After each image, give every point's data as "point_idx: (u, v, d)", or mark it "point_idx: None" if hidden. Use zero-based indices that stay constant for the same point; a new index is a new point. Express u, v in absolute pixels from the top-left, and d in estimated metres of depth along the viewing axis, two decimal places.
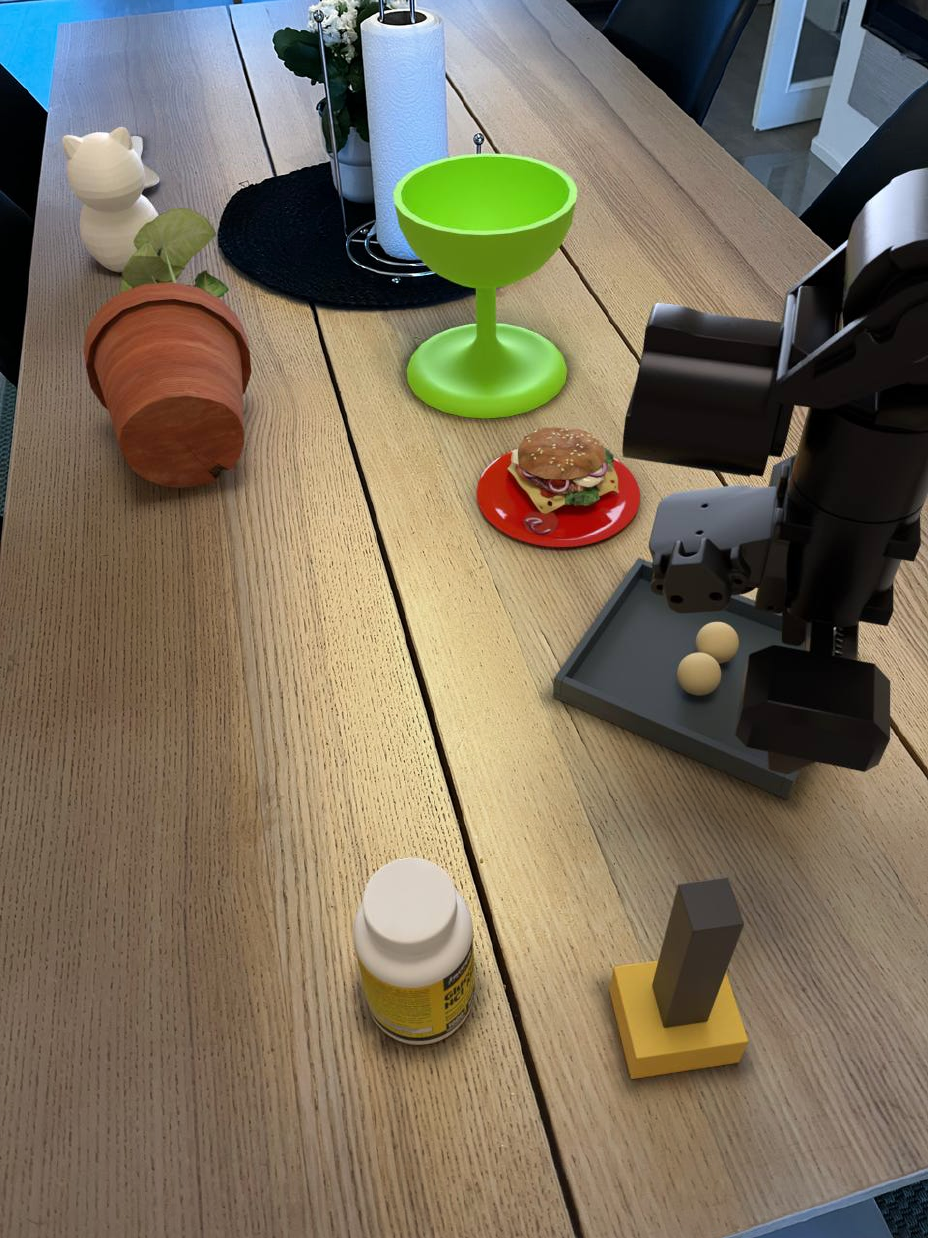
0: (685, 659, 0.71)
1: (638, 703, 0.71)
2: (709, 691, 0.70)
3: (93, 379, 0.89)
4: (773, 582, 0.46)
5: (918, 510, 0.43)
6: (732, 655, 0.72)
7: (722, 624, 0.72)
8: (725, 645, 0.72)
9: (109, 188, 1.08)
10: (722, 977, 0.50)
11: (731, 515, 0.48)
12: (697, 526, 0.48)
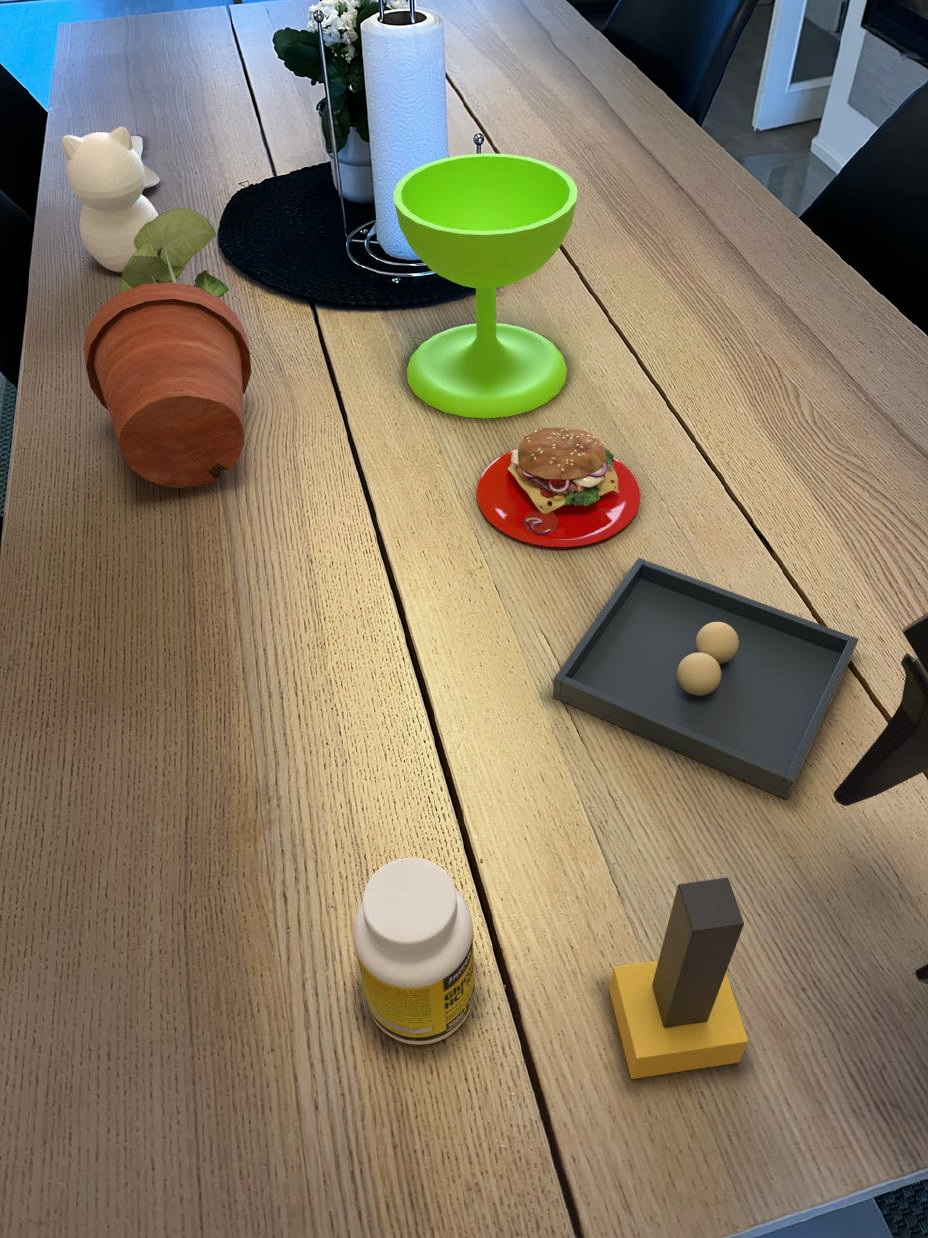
0: (685, 659, 0.71)
1: (638, 703, 0.71)
2: (709, 691, 0.70)
3: (93, 379, 0.89)
4: None
5: None
6: (732, 655, 0.72)
7: (722, 624, 0.72)
8: (725, 645, 0.72)
9: (109, 188, 1.08)
10: (722, 977, 0.50)
11: None
12: None
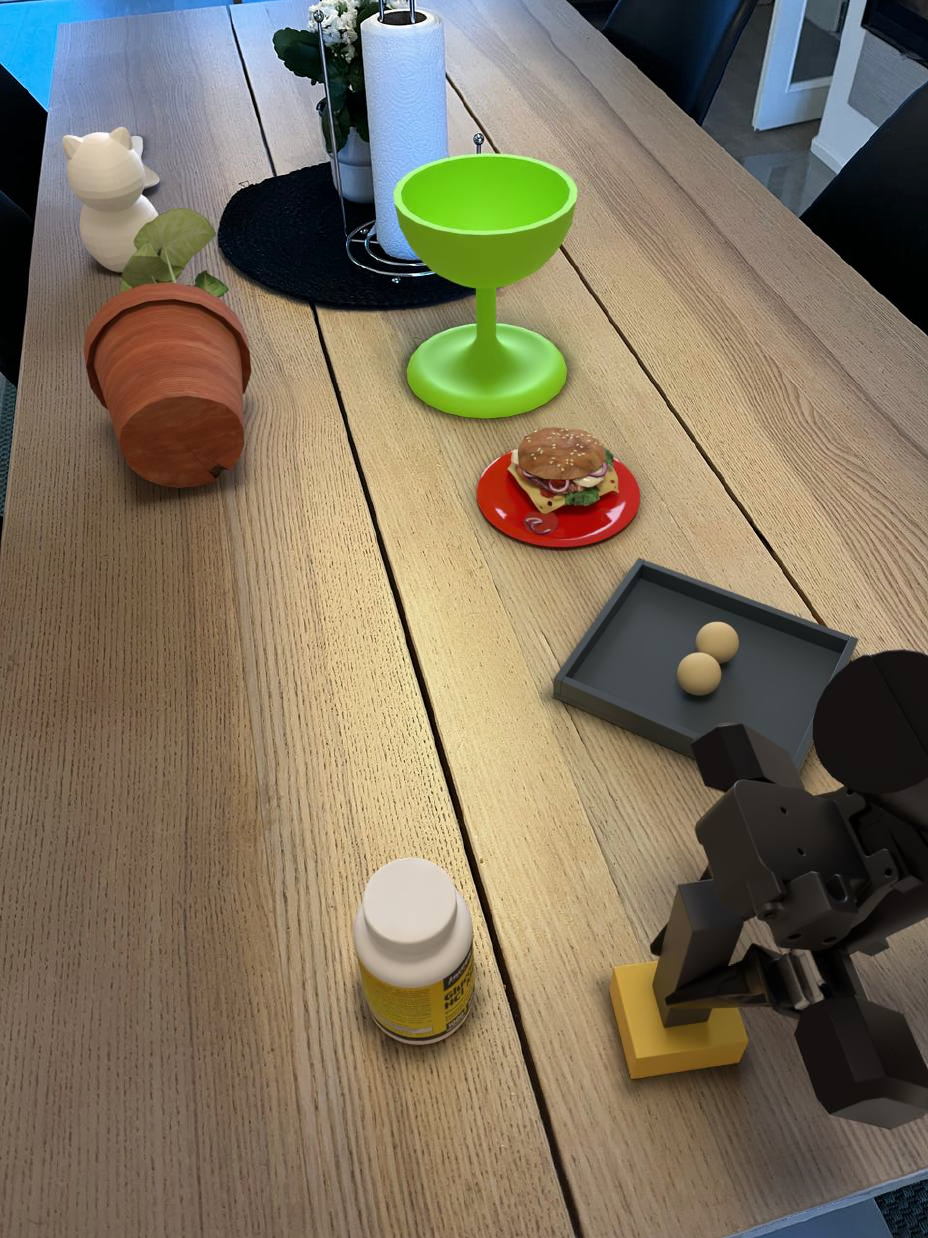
0: (685, 659, 0.71)
1: (638, 703, 0.71)
2: (709, 691, 0.70)
3: (93, 379, 0.89)
4: None
5: None
6: (732, 655, 0.72)
7: (722, 624, 0.72)
8: (725, 645, 0.72)
9: (109, 188, 1.08)
10: None
11: (817, 833, 0.43)
12: (793, 841, 0.42)
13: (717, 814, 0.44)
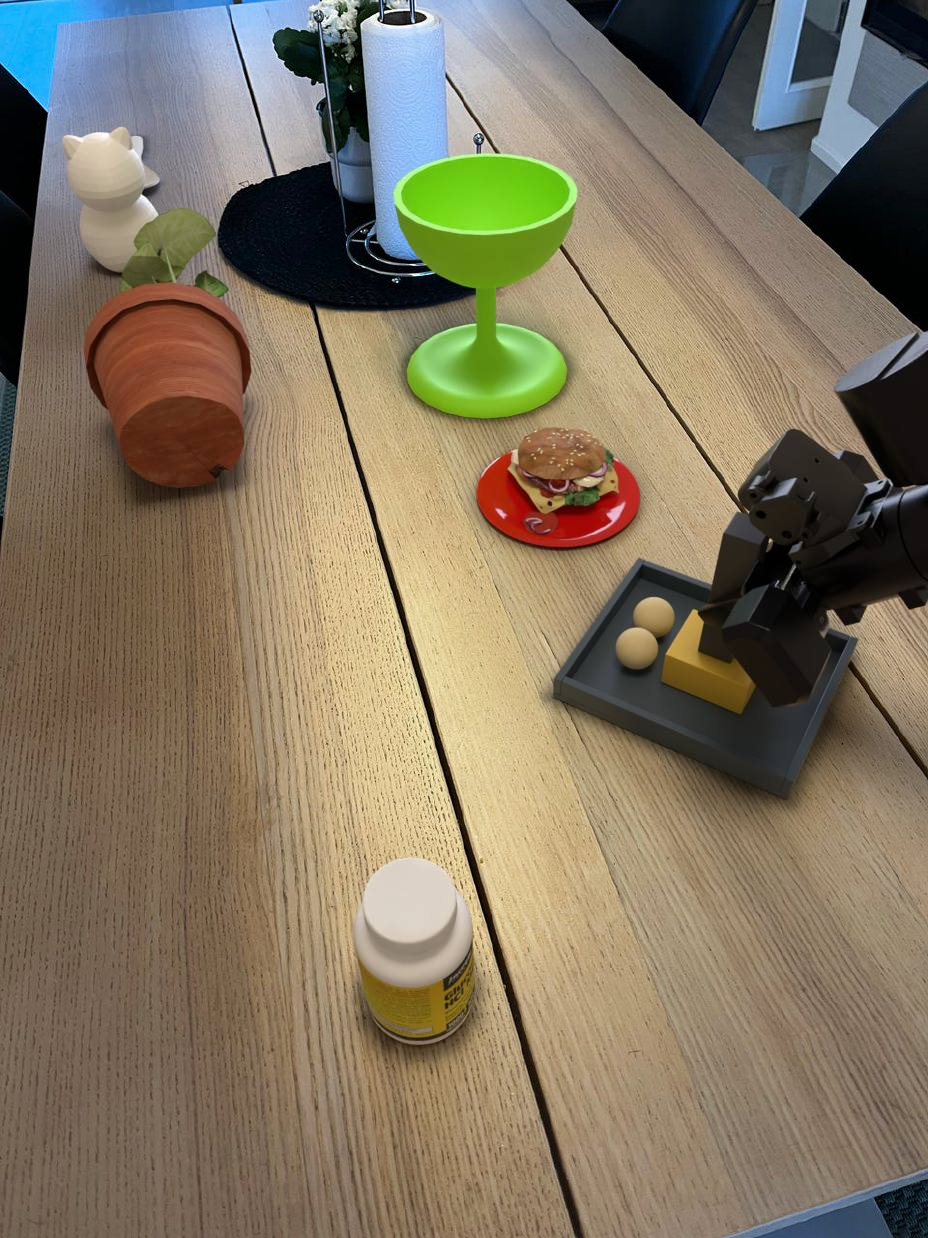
0: None
1: (638, 703, 0.71)
2: (616, 648, 0.73)
3: (93, 379, 0.89)
4: (821, 552, 0.58)
5: None
6: (633, 616, 0.75)
7: None
8: None
9: (109, 188, 1.08)
10: None
11: (831, 484, 0.58)
12: (806, 473, 0.58)
13: (772, 446, 0.60)
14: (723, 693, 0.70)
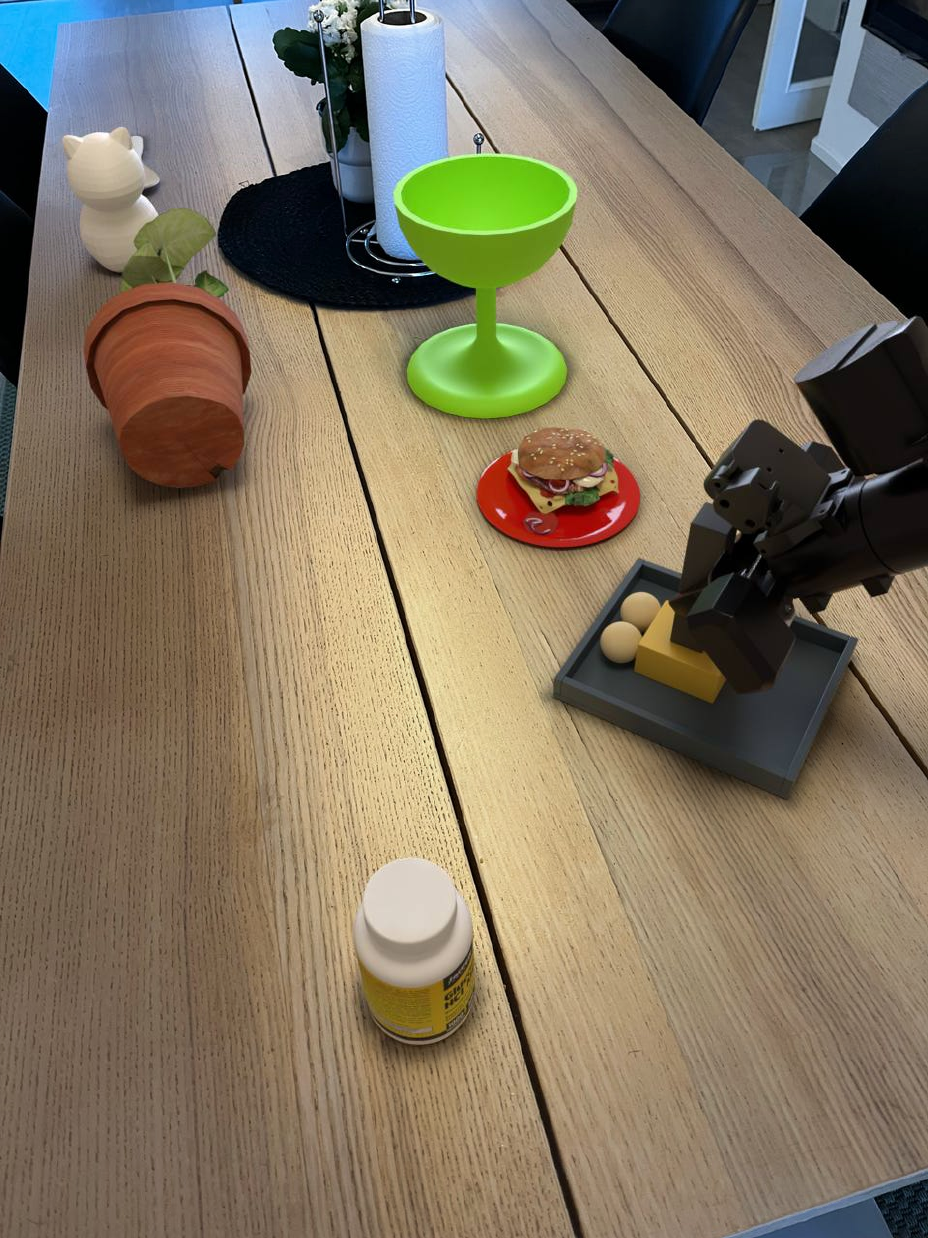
0: None
1: (638, 703, 0.71)
2: None
3: (93, 379, 0.89)
4: (785, 540, 0.58)
5: (904, 572, 0.57)
6: None
7: None
8: None
9: (109, 188, 1.08)
10: None
11: (794, 474, 0.59)
12: (770, 463, 0.58)
13: None
14: (695, 682, 0.71)
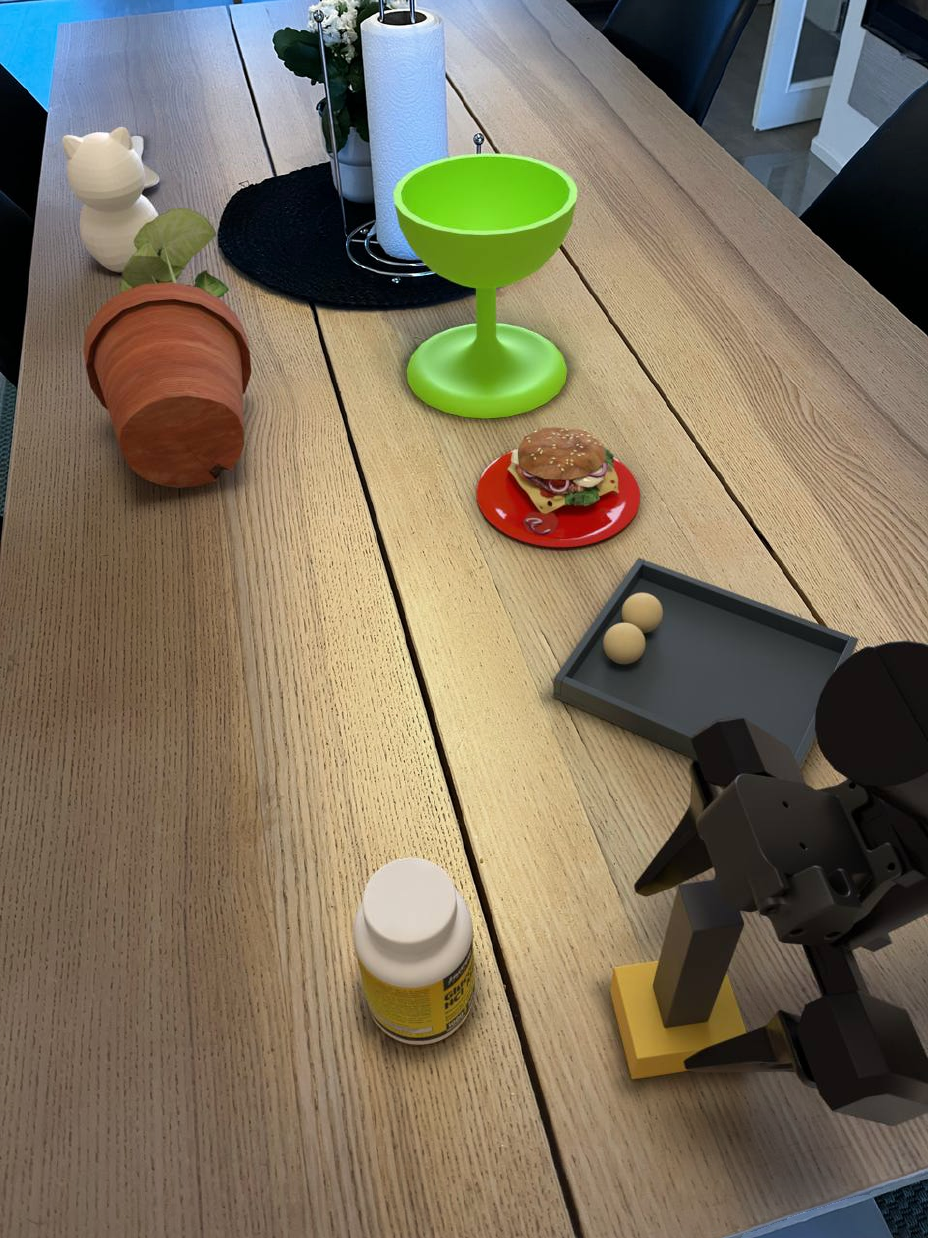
0: (642, 652, 0.73)
1: (638, 703, 0.71)
2: None
3: (93, 379, 0.89)
4: None
5: None
6: None
7: None
8: None
9: (109, 188, 1.08)
10: (723, 977, 0.50)
11: (819, 827, 0.43)
12: (795, 835, 0.42)
13: (718, 808, 0.43)
14: None
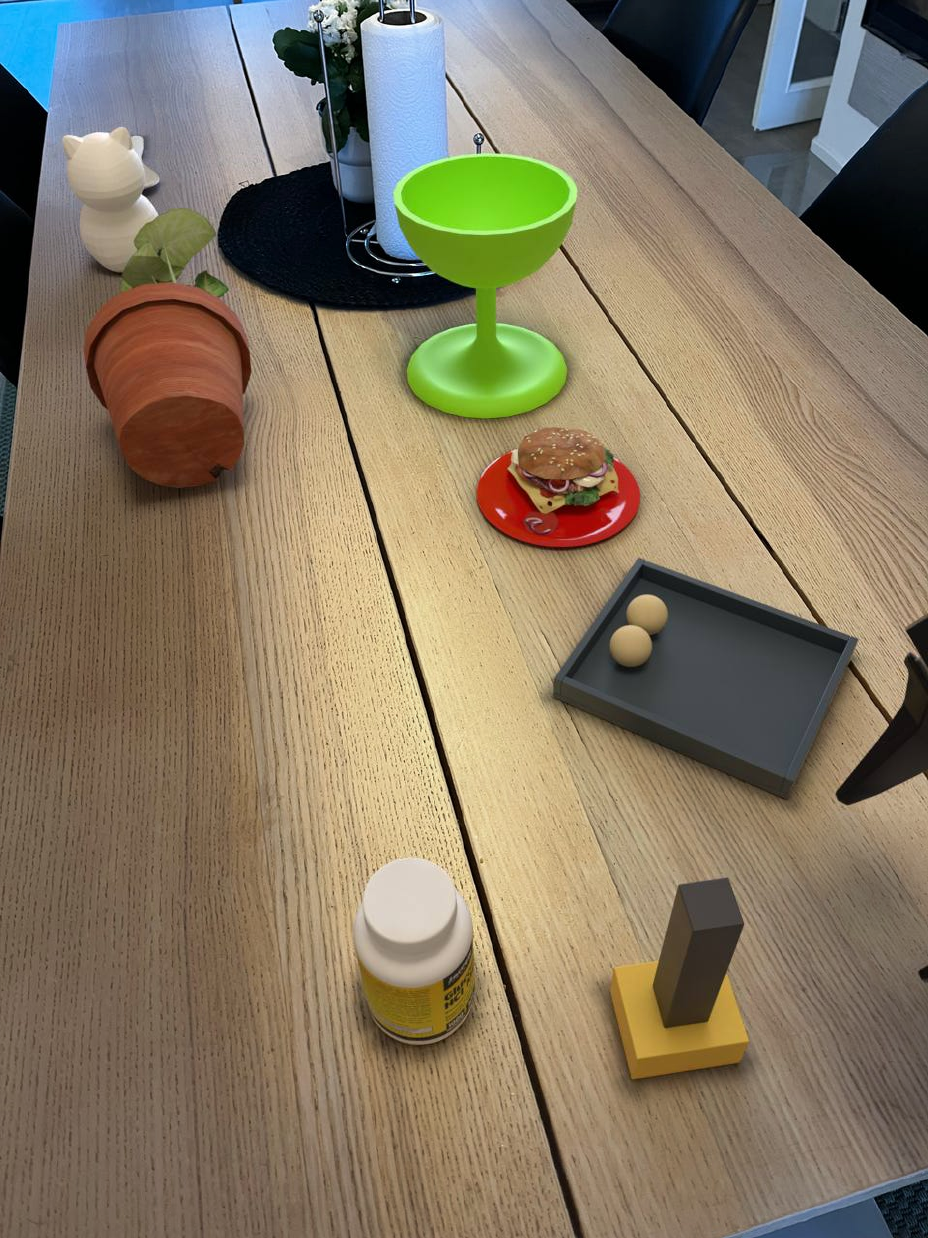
0: None
1: (638, 703, 0.71)
2: (610, 648, 0.73)
3: (93, 379, 0.89)
4: None
5: None
6: None
7: None
8: None
9: (109, 188, 1.08)
10: (722, 977, 0.50)
11: None
12: None
13: None
14: (717, 1057, 0.54)
